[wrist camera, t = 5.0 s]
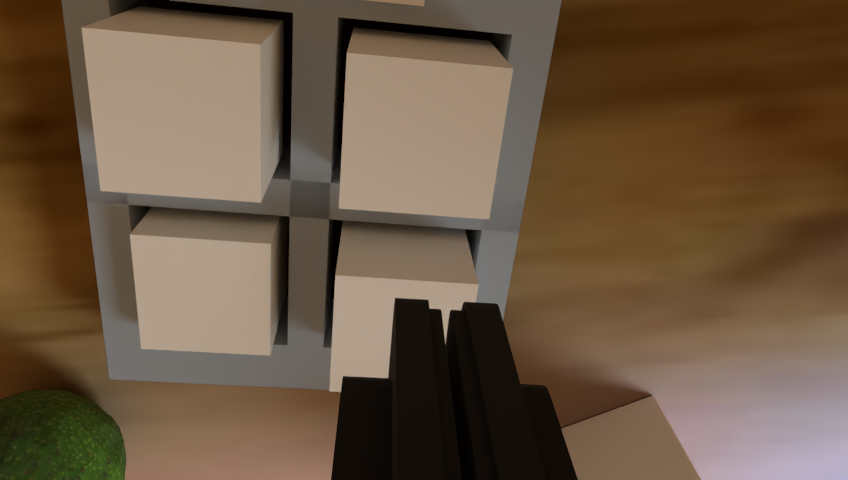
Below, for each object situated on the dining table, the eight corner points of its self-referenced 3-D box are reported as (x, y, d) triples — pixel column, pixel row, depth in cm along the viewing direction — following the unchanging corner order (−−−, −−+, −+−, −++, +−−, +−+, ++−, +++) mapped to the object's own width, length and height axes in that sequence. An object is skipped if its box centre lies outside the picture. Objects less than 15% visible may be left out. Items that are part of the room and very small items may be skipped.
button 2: (288, 193, 29) (270, 244, 24) (286, 292, 31) (270, 355, 26) (170, 184, 28) (129, 234, 24) (177, 285, 30) (141, 348, 26)
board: (566, -190, 24) (604, -211, 20) (477, 346, 33) (490, 403, 29) (83, -254, 22) (17, -292, 18) (140, 327, 32) (105, 385, 28)
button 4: (463, 224, 28) (478, 284, 23) (449, 325, 30) (460, 397, 25) (343, 216, 27) (335, 275, 23) (337, 319, 29) (329, 391, 25)
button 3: (489, 40, 24) (513, 68, 20) (471, 168, 27) (488, 219, 22) (353, 27, 24) (346, 52, 19) (346, 158, 26) (338, 208, 22)
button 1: (284, 20, 24) (260, 44, 19) (282, 153, 26) (261, 202, 21) (140, 6, 23) (81, 27, 19) (150, 142, 25) (100, 190, 21)
